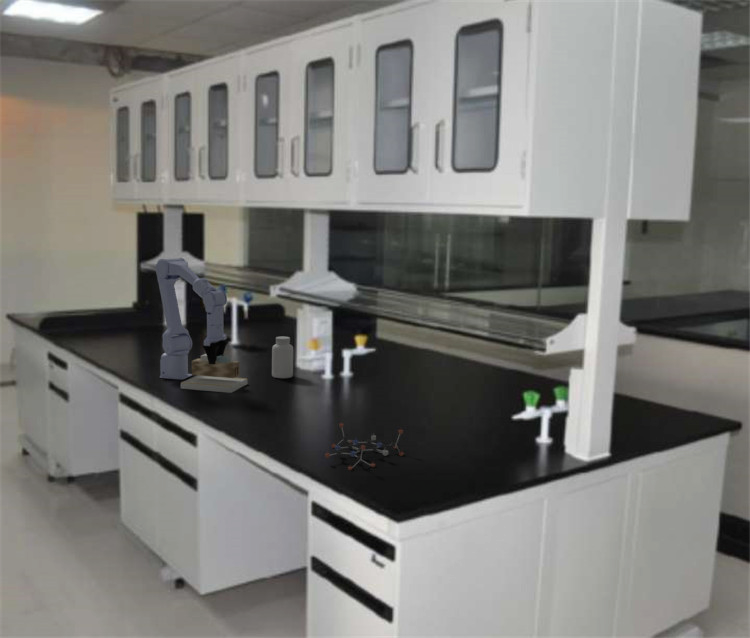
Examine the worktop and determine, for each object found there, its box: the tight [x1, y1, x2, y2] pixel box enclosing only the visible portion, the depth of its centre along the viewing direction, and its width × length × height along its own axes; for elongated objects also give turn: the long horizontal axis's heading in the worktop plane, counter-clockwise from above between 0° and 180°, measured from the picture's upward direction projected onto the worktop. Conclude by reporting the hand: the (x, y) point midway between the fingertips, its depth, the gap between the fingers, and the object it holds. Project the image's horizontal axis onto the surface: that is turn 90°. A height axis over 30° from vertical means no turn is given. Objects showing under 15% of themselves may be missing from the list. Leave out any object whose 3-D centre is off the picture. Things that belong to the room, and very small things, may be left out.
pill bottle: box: [271, 335, 294, 379], centre depth 303 cm, size 8×8×15 cm
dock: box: [180, 375, 248, 394], centre depth 286 cm, size 19×14×2 cm
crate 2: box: [216, 354, 232, 363], centre depth 285 cm, size 4×4×2 cm
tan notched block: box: [191, 358, 240, 378], centre depth 286 cm, size 16×5×5 cm, turn 76°
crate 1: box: [200, 353, 208, 362], centre depth 286 cm, size 4×4×2 cm
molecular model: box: [324, 420, 404, 471], centre depth 212 cm, size 24×7×20 cm
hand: (215, 362), depth 286 cm, fingers closed on tan notched block, 5 cm apart
